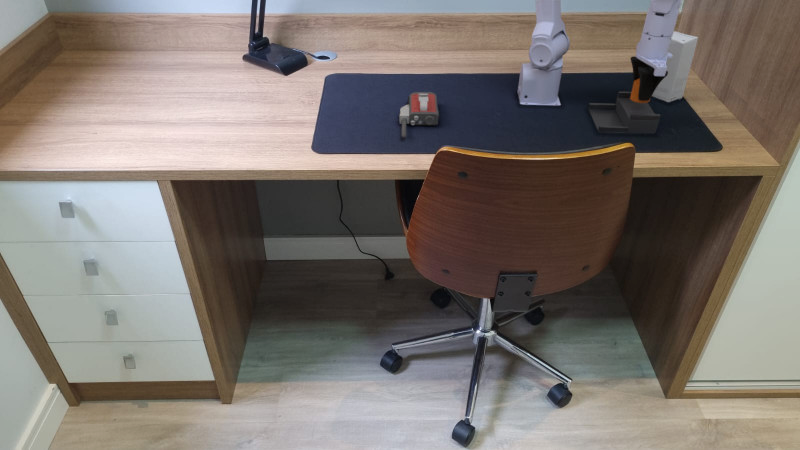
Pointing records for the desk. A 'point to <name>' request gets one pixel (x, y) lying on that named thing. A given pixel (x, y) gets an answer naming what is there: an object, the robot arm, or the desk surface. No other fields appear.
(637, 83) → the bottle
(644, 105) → the rack
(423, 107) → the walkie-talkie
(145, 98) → the desk surface
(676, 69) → the cosmetic box
